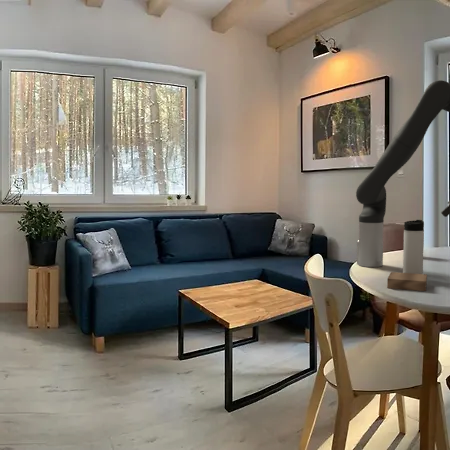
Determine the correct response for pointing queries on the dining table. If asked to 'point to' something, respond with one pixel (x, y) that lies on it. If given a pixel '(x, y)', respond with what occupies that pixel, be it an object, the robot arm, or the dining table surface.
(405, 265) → the travel mug
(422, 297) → the dining table surface
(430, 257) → the dining table surface
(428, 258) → the dining table surface
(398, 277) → the walnut stand
